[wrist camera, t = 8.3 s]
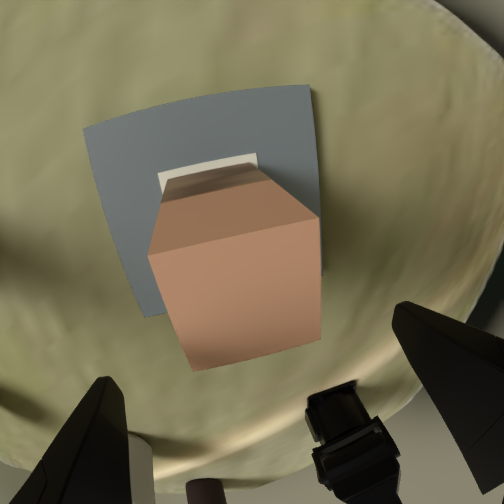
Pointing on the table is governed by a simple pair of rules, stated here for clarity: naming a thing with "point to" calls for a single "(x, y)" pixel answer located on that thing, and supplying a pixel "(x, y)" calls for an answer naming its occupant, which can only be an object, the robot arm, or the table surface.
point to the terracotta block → (238, 273)
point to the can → (141, 471)
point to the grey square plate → (197, 161)
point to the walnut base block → (212, 181)
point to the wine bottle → (205, 492)
